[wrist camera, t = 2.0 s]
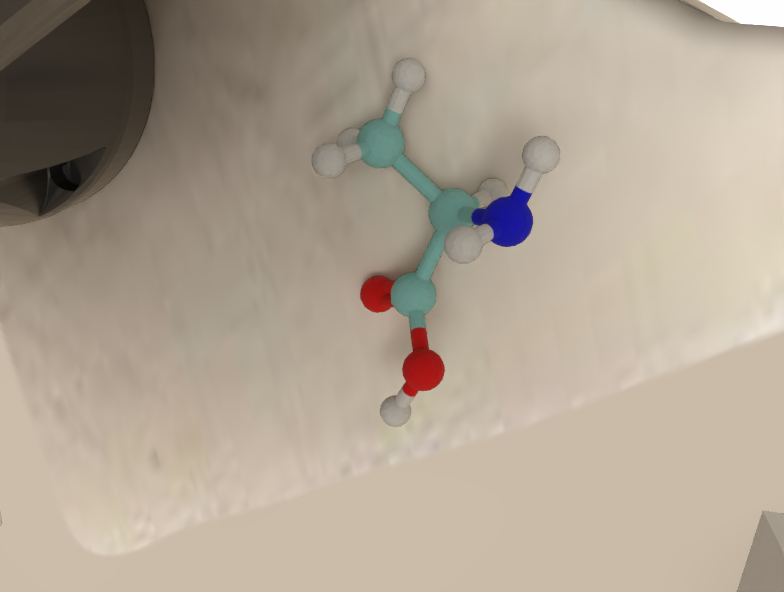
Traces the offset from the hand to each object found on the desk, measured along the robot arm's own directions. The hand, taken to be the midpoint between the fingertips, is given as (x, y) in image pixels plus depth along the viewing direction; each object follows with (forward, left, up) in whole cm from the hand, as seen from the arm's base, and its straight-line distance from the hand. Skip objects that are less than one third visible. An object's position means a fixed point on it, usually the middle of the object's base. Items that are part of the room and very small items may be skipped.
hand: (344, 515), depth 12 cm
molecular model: (0, 0, -20) cm, 21 cm away
